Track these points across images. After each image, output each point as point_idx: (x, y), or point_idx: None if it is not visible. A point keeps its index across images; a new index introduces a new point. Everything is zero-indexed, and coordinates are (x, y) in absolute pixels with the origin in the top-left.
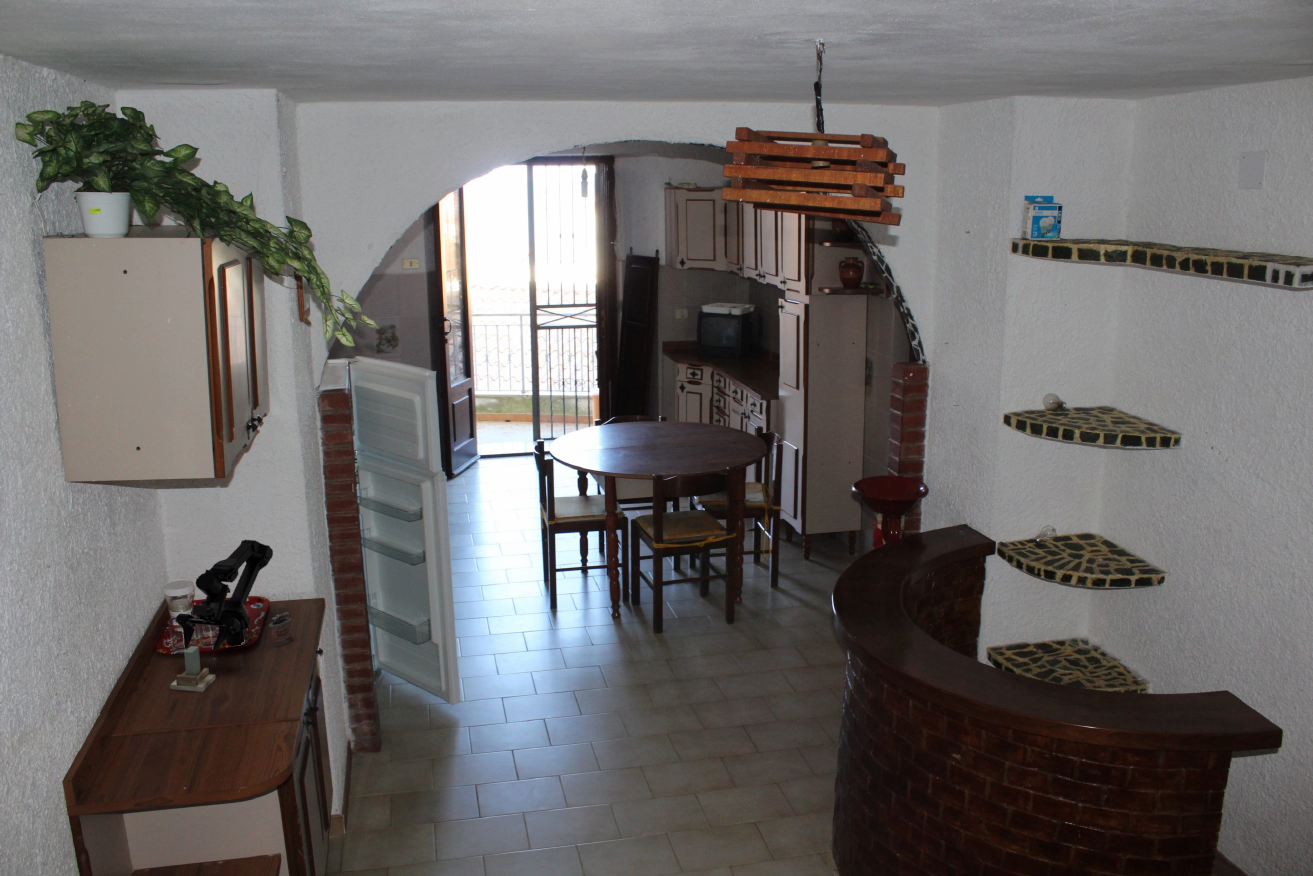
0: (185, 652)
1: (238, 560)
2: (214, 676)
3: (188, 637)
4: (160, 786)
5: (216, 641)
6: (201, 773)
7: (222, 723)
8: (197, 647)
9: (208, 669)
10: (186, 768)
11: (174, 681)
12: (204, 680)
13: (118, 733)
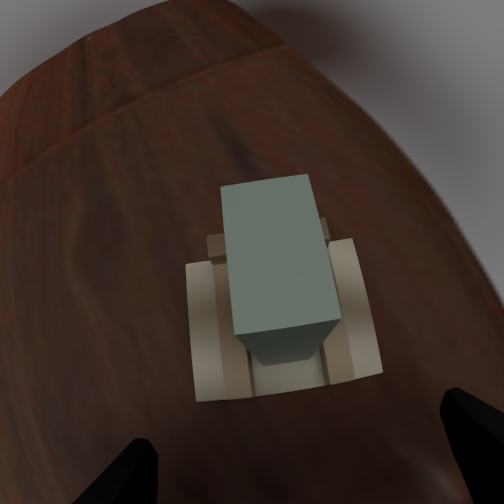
0: (294, 178)
1: None
2: (197, 392)
3: (496, 470)
4: (121, 25)
5: (103, 493)
6: (73, 57)
7: (62, 148)
8: (233, 307)
9: (227, 398)
10: (97, 50)
11: (356, 269)
12: (213, 327)
13: (290, 47)
